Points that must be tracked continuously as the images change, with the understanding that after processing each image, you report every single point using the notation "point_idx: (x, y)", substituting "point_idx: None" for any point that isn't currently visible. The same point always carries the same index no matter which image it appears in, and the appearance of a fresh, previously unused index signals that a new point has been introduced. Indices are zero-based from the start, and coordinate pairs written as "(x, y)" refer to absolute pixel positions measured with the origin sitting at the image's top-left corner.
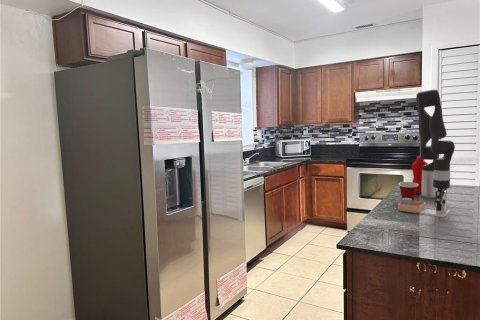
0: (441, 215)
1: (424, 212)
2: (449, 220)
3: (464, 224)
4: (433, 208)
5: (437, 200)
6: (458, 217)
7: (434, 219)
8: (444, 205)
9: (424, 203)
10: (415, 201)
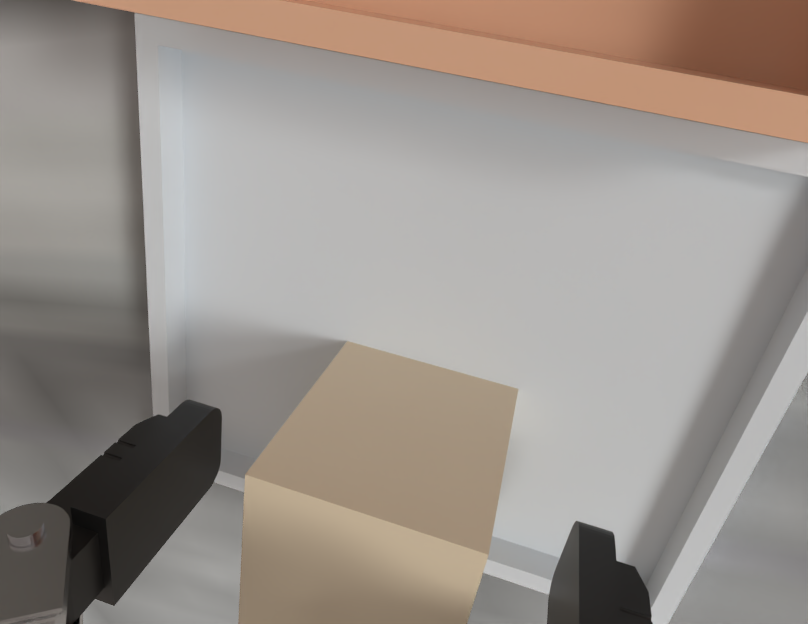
0: None
1: (329, 123)
2: None
3: None
4: (779, 345)
5: (5, 607)
6: None
7: (13, 292)
8: (243, 621)
9: (761, 130)
10: None
